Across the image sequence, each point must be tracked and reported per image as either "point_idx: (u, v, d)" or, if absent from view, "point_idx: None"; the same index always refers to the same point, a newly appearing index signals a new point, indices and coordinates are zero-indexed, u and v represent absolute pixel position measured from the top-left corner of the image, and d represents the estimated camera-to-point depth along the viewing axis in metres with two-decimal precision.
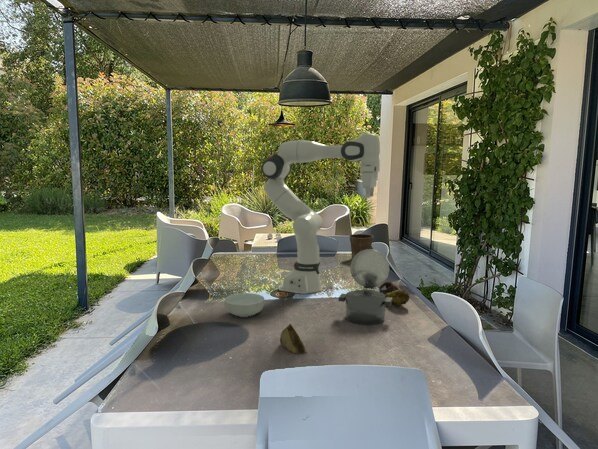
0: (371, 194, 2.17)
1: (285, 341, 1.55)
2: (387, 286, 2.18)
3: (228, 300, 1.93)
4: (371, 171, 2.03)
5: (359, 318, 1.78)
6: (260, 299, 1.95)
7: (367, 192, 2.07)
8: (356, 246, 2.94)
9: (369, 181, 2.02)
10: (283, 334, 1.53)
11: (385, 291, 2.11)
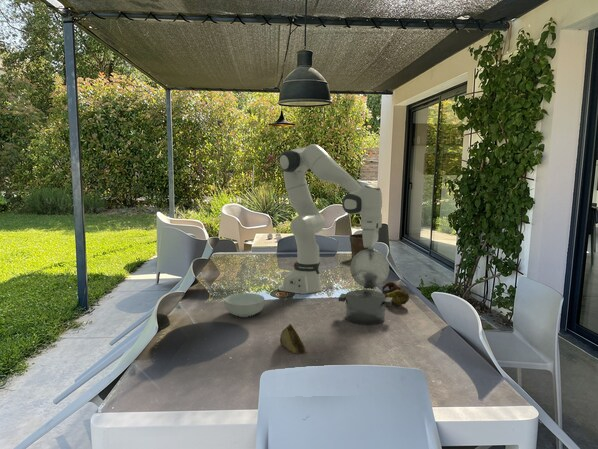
0: None
1: (285, 341, 1.55)
2: (390, 286, 2.18)
3: (228, 300, 1.93)
4: (373, 229, 1.84)
5: (359, 318, 1.78)
6: (260, 299, 1.95)
7: None
8: (356, 246, 2.94)
9: (370, 240, 1.84)
10: (283, 334, 1.53)
11: (388, 291, 2.10)
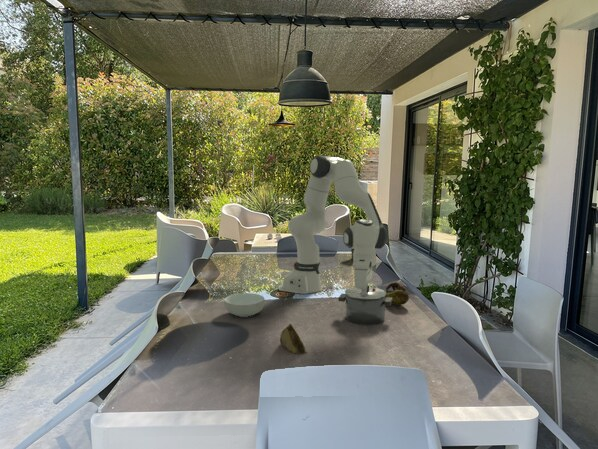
0: None
1: (285, 341, 1.55)
2: (393, 287, 2.17)
3: (228, 300, 1.93)
4: (365, 269, 1.70)
5: (359, 318, 1.78)
6: (260, 299, 1.95)
7: (363, 289, 1.78)
8: None
9: (363, 281, 1.69)
10: (283, 334, 1.53)
11: None
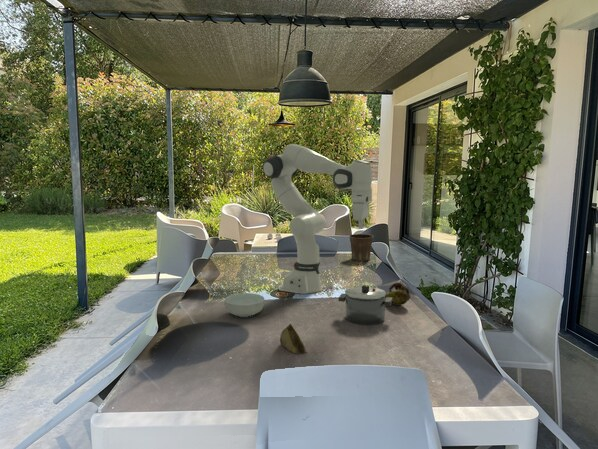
0: None
1: (285, 341, 1.55)
2: (396, 287, 2.16)
3: (228, 300, 1.93)
4: (362, 202, 1.88)
5: (359, 318, 1.78)
6: (260, 299, 1.95)
7: (360, 223, 1.96)
8: (356, 246, 2.94)
9: (360, 213, 1.87)
10: (283, 334, 1.53)
11: None
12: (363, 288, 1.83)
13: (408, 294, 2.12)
